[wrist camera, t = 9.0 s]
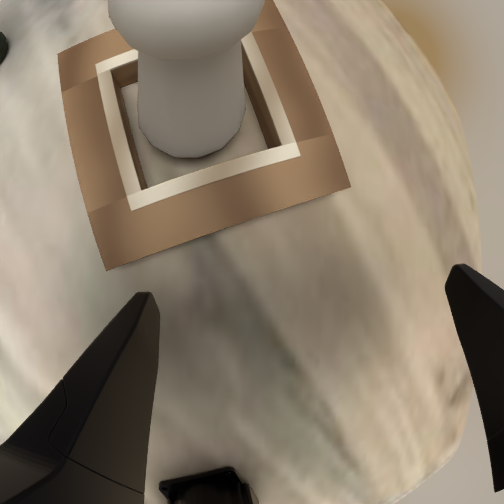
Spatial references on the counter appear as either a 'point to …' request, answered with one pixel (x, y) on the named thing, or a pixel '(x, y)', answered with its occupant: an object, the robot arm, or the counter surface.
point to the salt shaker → (188, 69)
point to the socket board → (205, 180)
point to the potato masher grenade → (3, 46)
